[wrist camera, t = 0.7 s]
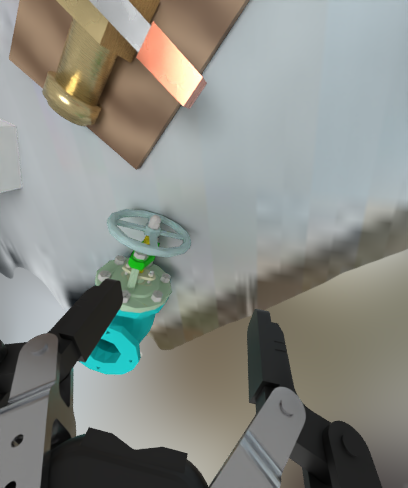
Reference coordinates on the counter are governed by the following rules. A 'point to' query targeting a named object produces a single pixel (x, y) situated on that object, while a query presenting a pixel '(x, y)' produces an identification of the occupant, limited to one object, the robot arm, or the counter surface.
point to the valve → (135, 290)
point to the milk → (9, 158)
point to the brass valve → (88, 60)
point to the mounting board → (126, 65)
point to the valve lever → (154, 50)
